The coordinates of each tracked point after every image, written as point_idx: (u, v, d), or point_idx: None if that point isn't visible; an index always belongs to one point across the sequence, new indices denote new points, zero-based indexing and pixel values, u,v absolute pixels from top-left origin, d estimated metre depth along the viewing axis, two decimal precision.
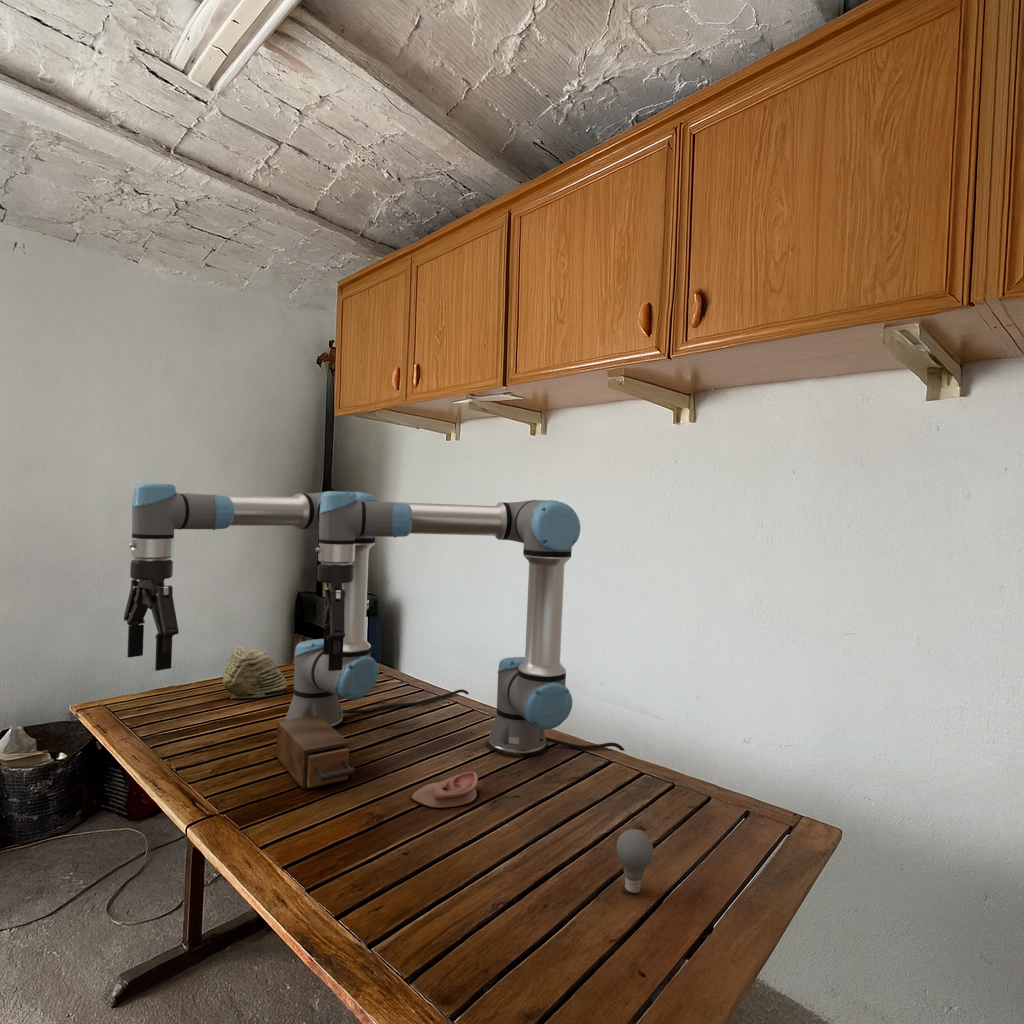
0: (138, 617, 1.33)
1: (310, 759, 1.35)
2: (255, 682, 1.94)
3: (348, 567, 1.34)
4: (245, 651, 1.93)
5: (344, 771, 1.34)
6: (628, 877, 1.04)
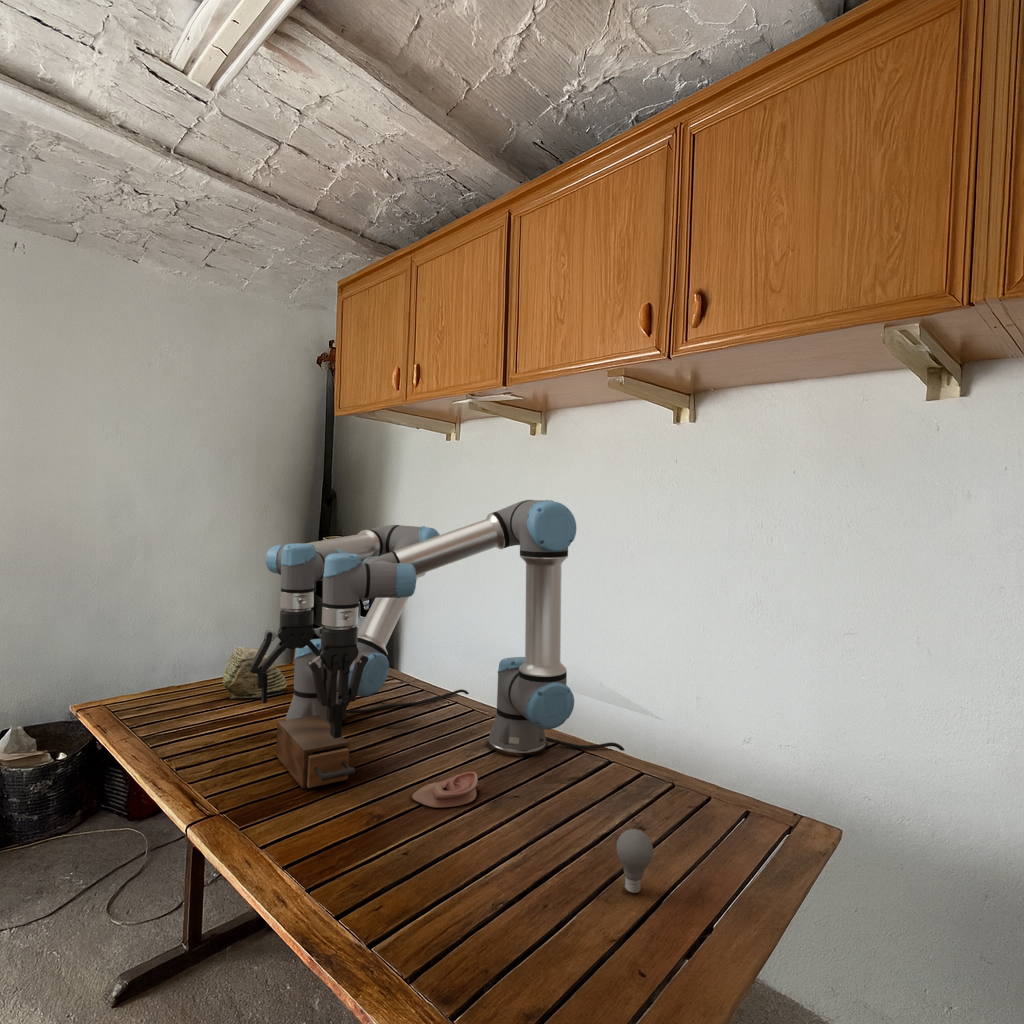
0: None
1: (310, 759, 1.35)
2: (255, 682, 1.94)
3: None
4: (245, 651, 1.93)
5: (344, 771, 1.34)
6: (628, 877, 1.04)
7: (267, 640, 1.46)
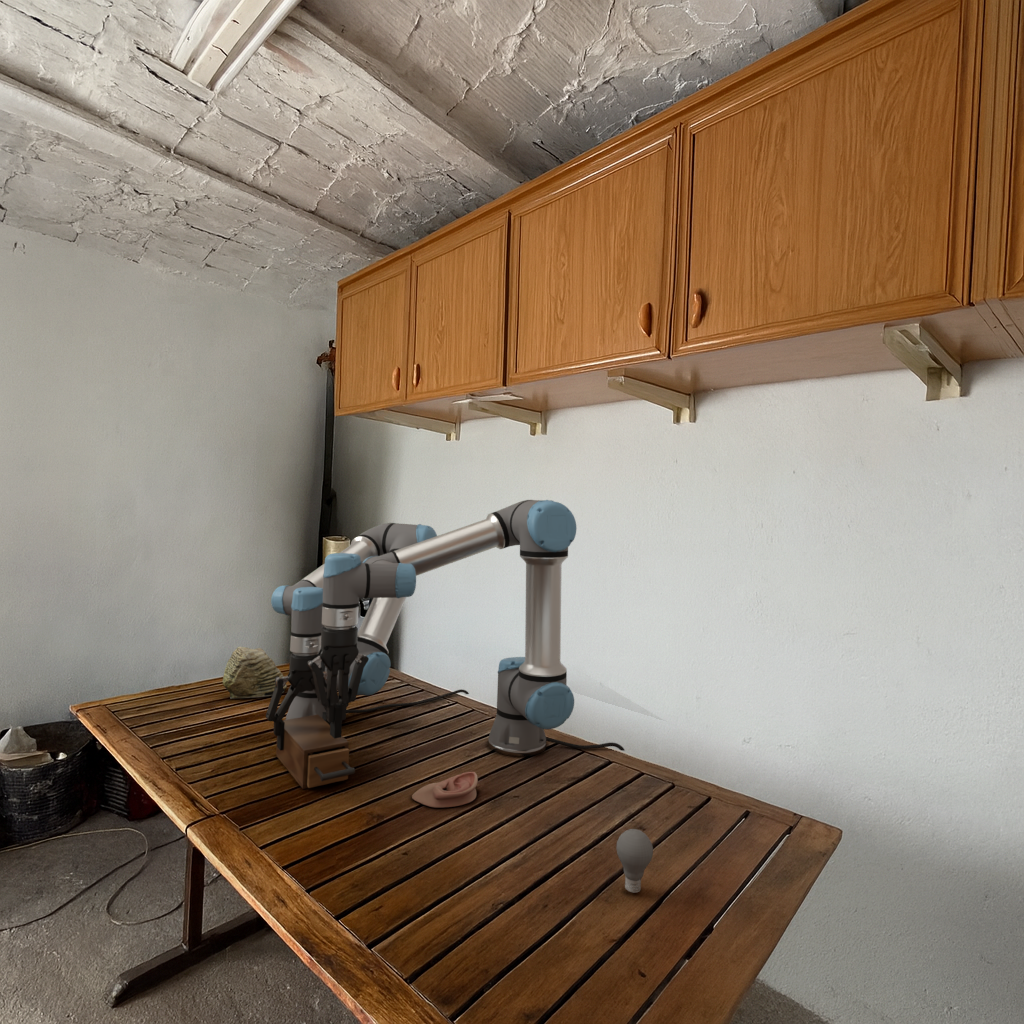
0: None
1: (310, 759, 1.35)
2: (255, 682, 1.94)
3: None
4: (245, 651, 1.93)
5: (344, 771, 1.34)
6: (628, 877, 1.04)
7: (279, 687, 1.48)
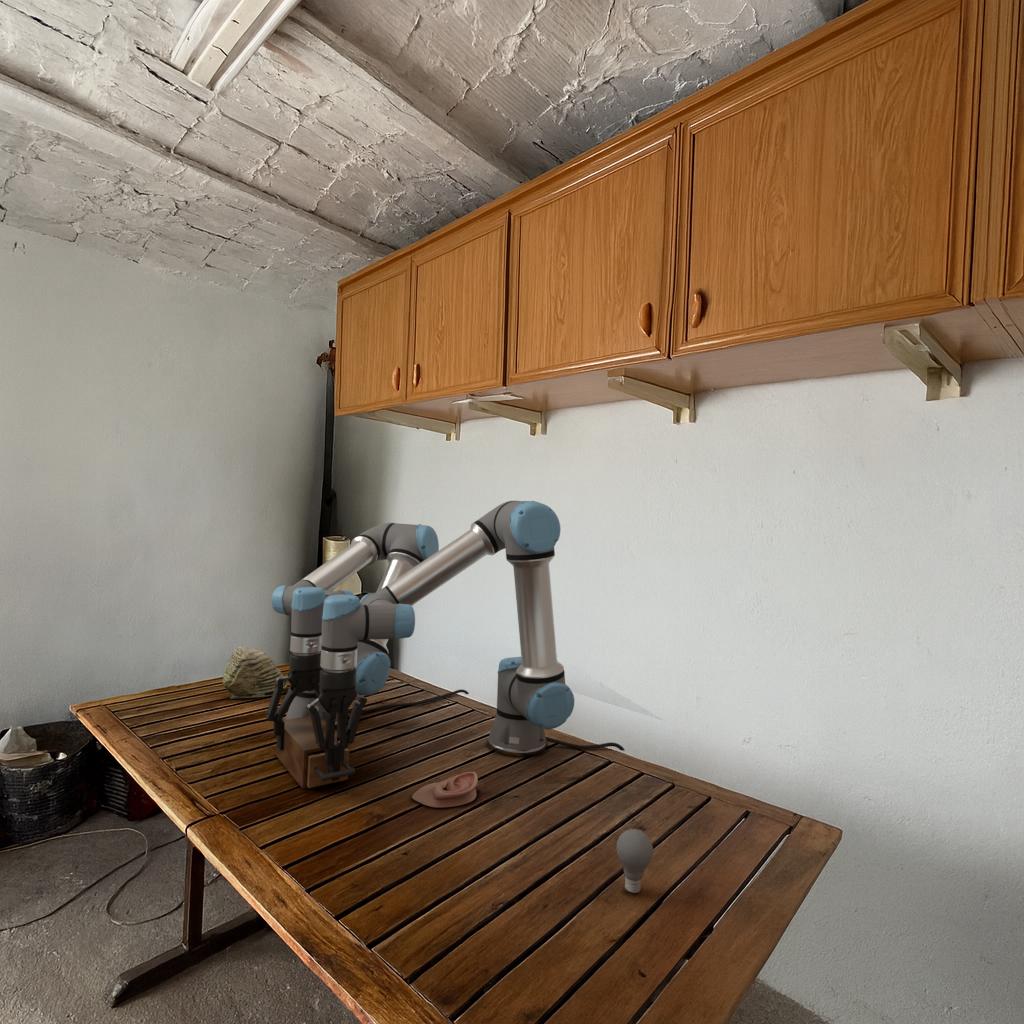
0: None
1: (310, 759, 1.35)
2: (255, 682, 1.94)
3: None
4: (245, 651, 1.93)
5: (344, 771, 1.34)
6: (628, 877, 1.04)
7: (279, 687, 1.48)
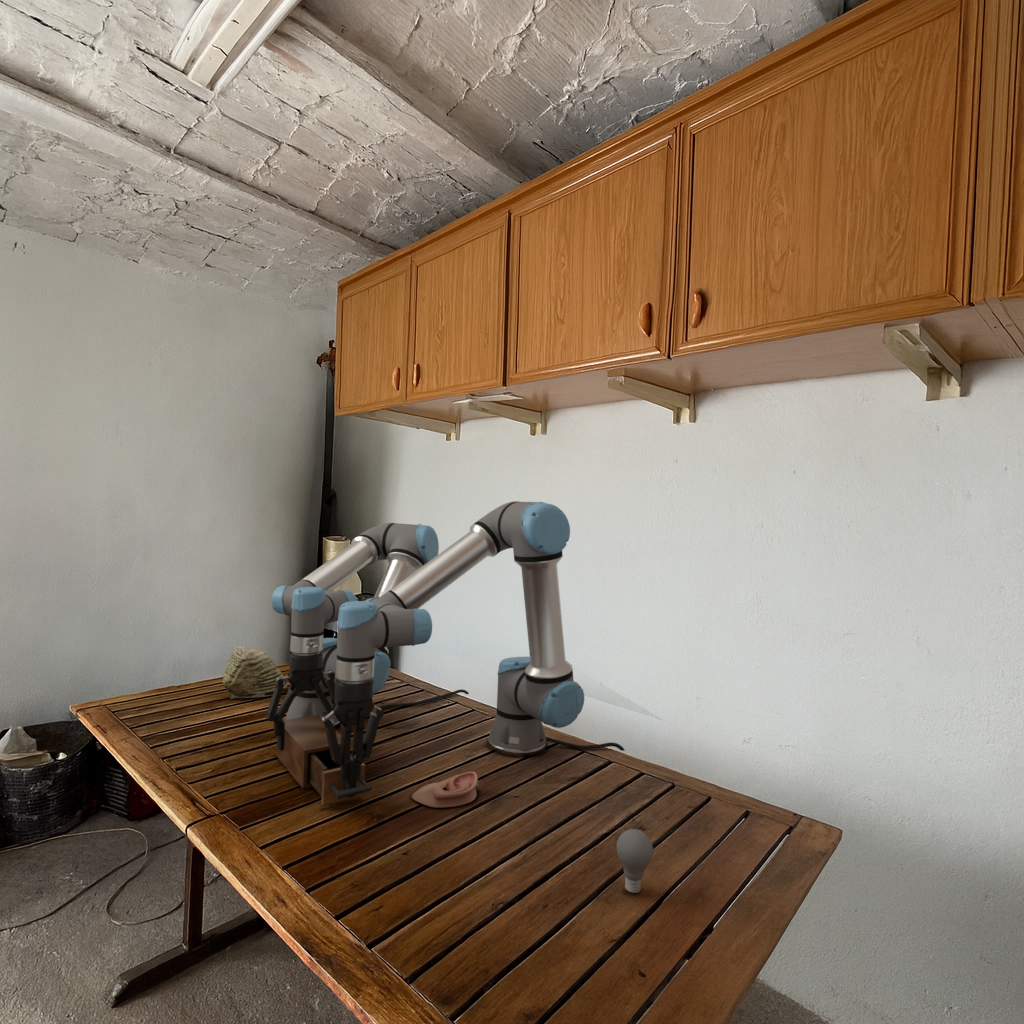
0: None
1: (324, 775, 1.28)
2: (255, 682, 1.94)
3: None
4: (245, 651, 1.93)
5: (361, 788, 1.27)
6: (628, 877, 1.04)
7: (279, 687, 1.48)
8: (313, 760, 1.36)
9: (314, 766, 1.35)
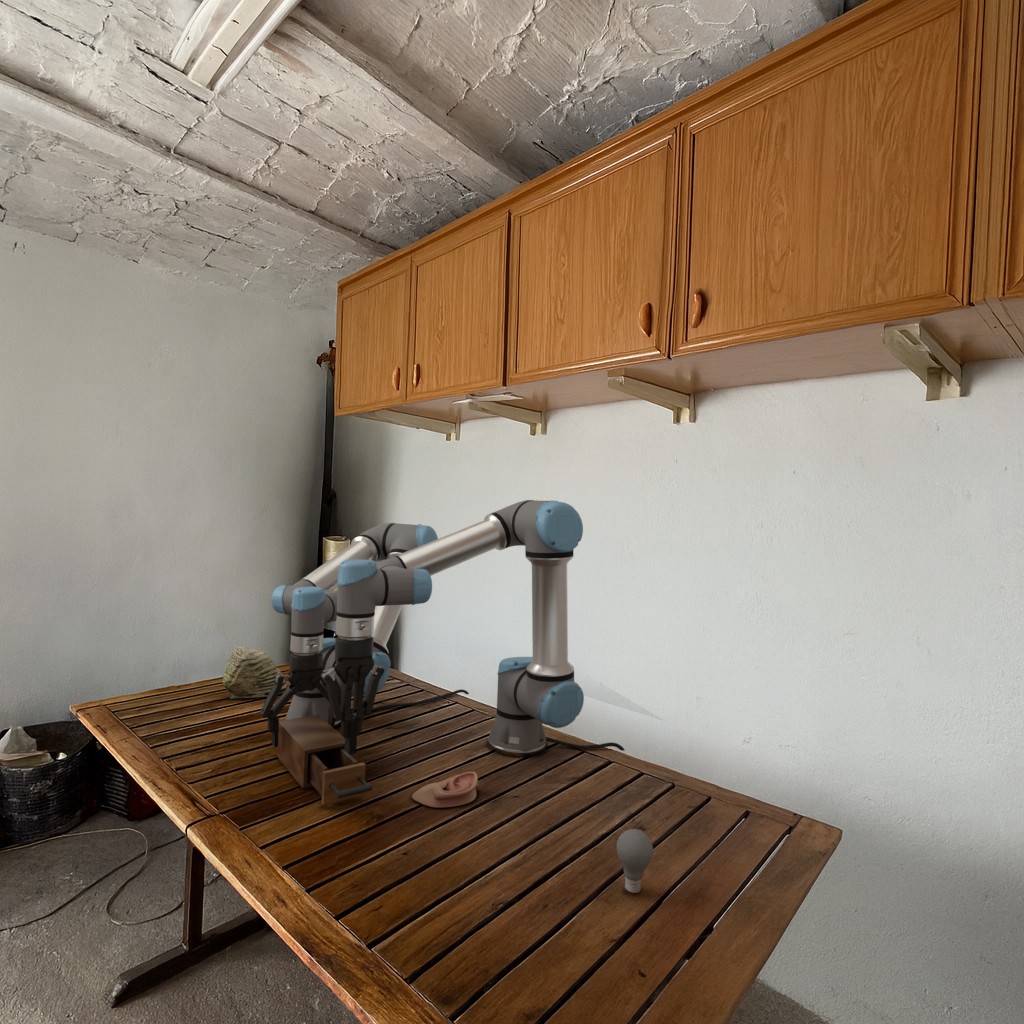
0: None
1: (325, 775, 1.28)
2: (255, 682, 1.94)
3: None
4: (245, 651, 1.93)
5: (361, 788, 1.27)
6: (628, 877, 1.04)
7: (278, 684, 1.48)
8: (313, 760, 1.36)
9: (314, 766, 1.35)
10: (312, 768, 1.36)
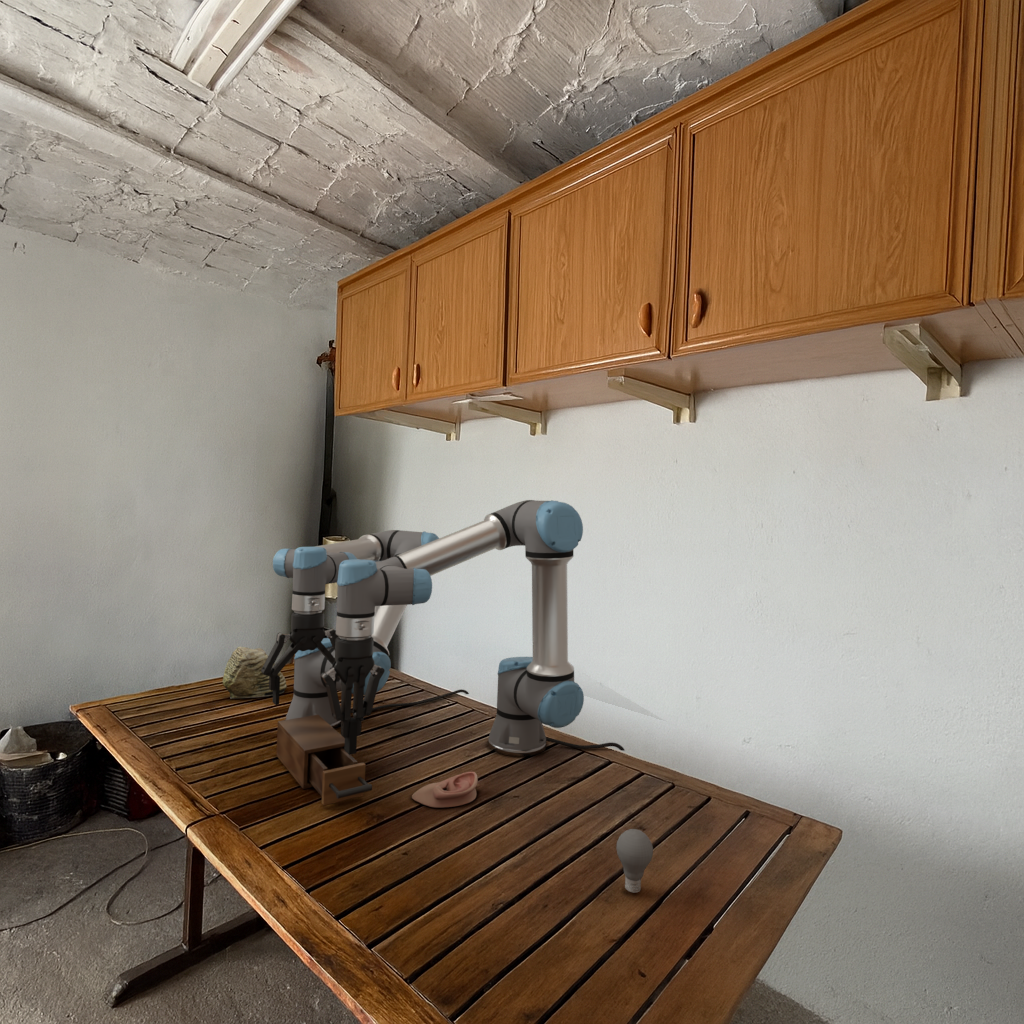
0: None
1: (325, 775, 1.28)
2: (255, 682, 1.94)
3: None
4: (245, 651, 1.93)
5: (361, 788, 1.27)
6: (628, 877, 1.04)
7: (280, 642, 1.47)
8: (313, 760, 1.36)
9: (314, 766, 1.35)
10: (312, 768, 1.36)
